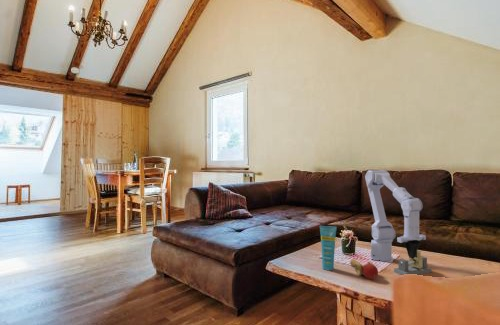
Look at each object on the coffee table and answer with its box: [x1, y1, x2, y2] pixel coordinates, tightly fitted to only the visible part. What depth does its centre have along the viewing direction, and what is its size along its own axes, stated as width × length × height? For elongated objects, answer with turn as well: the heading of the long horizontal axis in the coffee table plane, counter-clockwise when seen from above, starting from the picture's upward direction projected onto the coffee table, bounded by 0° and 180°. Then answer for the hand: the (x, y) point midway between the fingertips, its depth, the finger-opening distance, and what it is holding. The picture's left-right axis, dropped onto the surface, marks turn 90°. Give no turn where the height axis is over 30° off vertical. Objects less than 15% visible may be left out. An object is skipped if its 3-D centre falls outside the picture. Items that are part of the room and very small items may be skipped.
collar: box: [408, 249, 424, 269], centre depth 128 cm, size 2×5×7 cm, turn 21°
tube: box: [319, 225, 337, 271], centre depth 131 cm, size 7×5×19 cm, turn 73°
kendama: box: [349, 259, 379, 280], centre depth 126 cm, size 8×6×18 cm
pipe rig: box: [393, 255, 433, 276], centre depth 127 cm, size 15×6×6 cm, turn 111°
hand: (411, 257), depth 127 cm, fingers closed
